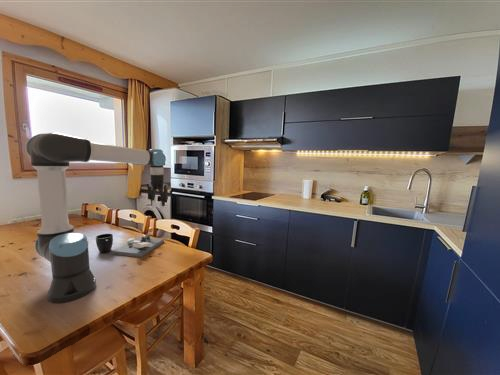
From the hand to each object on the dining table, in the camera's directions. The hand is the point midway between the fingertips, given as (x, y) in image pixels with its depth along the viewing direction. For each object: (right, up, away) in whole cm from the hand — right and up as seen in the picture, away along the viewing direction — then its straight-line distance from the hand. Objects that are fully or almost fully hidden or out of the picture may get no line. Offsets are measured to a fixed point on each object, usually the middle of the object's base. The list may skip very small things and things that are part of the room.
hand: (158, 210), depth 132 cm
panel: (-10, -23, -3) cm, 25 cm away
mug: (-26, -24, -10) cm, 37 cm away
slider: (-10, -21, -6) cm, 25 cm away
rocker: (-5, -19, -10) cm, 22 cm away
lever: (-10, -19, +4) cm, 22 cm away
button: (-16, -21, -2) cm, 26 cm away
